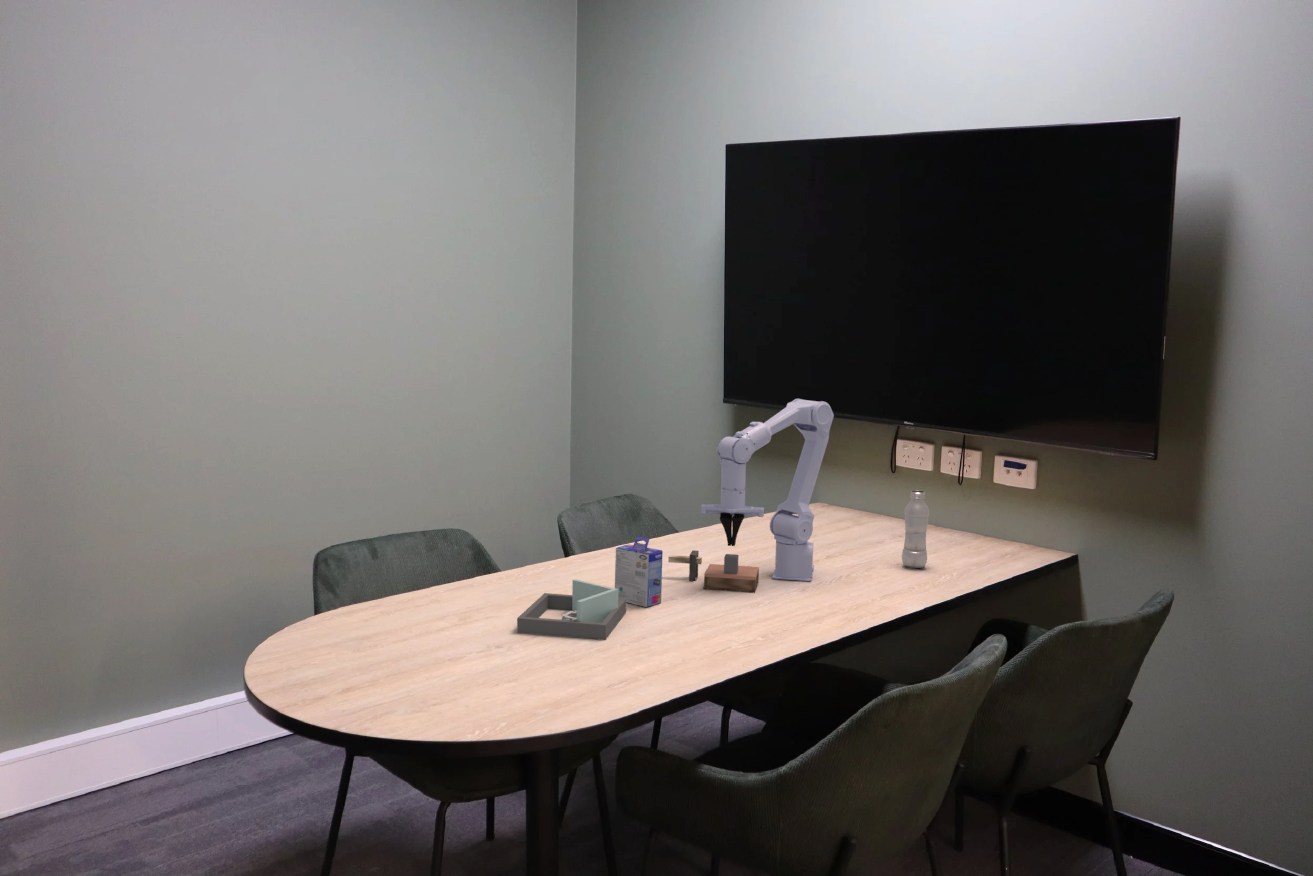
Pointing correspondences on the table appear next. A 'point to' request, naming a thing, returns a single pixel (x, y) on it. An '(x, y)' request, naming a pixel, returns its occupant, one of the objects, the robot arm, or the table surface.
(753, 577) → the lid
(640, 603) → the ink cartridge box
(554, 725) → the table surface
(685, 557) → the tan rectangular bar
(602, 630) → the dark gray square frame
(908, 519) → the plastic bottle
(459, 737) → the table surface
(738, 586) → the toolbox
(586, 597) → the l-shaped corner panel
